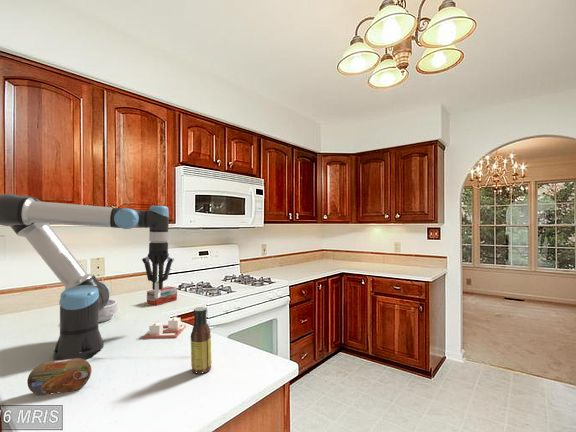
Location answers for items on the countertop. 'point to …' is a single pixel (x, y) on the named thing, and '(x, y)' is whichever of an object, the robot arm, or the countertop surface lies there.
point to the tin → (59, 376)
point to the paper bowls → (108, 311)
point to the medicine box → (162, 296)
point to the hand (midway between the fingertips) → (157, 297)
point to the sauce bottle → (200, 342)
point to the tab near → (156, 328)
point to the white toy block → (174, 323)
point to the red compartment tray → (165, 332)
